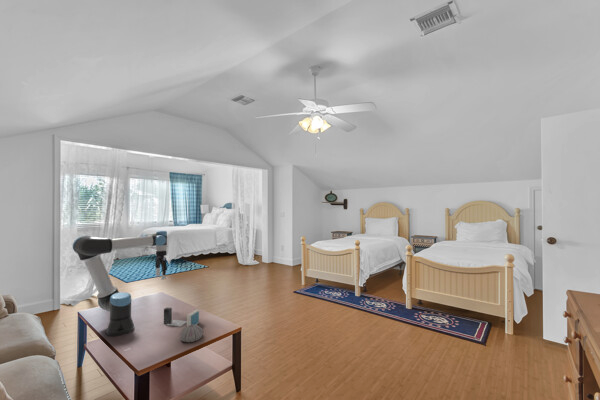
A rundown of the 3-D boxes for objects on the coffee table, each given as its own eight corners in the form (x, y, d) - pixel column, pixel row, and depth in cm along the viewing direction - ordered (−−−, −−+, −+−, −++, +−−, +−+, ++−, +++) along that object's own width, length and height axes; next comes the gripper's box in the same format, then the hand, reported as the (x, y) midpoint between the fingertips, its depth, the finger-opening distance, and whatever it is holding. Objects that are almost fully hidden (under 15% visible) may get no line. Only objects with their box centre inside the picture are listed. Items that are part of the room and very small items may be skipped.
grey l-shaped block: (180, 326, 184) (180, 311, 185) (161, 324, 188) (161, 310, 188) (187, 322, 191) (187, 308, 192) (168, 320, 195) (168, 306, 195)
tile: (190, 329, 181) (190, 315, 181) (187, 328, 182) (187, 314, 182) (199, 322, 191) (199, 309, 191) (195, 322, 191) (196, 309, 192)
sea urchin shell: (195, 331, 177) (195, 319, 177) (207, 338, 168) (207, 324, 169) (175, 339, 167) (175, 326, 167) (186, 346, 158) (186, 332, 158)
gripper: (172, 251, 210) (171, 279, 209) (161, 248, 228) (160, 274, 227) (161, 252, 205) (160, 281, 204) (151, 249, 223) (150, 275, 222)
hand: (160, 277), depth 215 cm, fingers open, 13 cm apart
